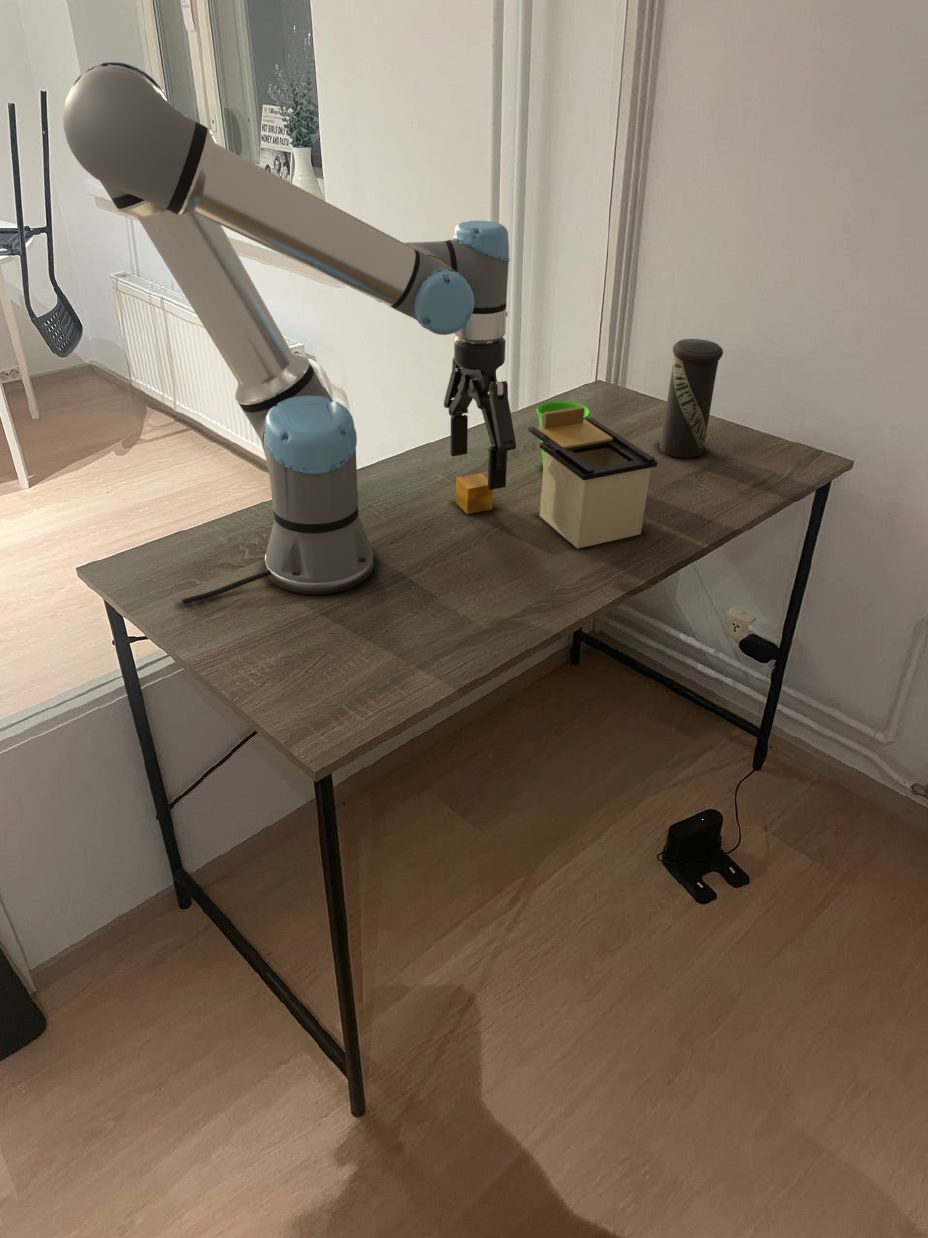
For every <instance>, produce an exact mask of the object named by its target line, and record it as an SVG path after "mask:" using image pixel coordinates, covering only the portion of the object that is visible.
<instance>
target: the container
mask: <svg viewBox="0 0 928 1238" xmlns="http://www.w3.org/2000/svg"><path fill="white" fill-rule="evenodd" d="M672 354H673V360H672V367H671V373H670V374H671V375H670V381H669V387H668V392H667V399H666V404H665V405H666V406H665V411H664V417H663V421H662V422H663V423H662V428H661V435H660V440H659V450H660V451H661V452H662V453H664V454H666V455H668V456H670V457H674V458H680V459H691V458H695V457H698V456H700V455H702V454H703V452H704V449H705V443H706V438H707V433H708V432H707V431H708V424H709V419H710V414H711V413H710V412H711V408H712V402H713V395H714V389H715V382H716V376H717V370H718V365H719V361H720V360H721V358H722V357H723V354H724V350H723V347H721V346H720V345H719V344H718V343H716V342H714V341H711V340H707V339H701V338H685V339H680V340H679V341H677V342H675V343H674V344H673V346H672Z"/></svg>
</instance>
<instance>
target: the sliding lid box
mask: <svg viewBox="0 0 928 1238" xmlns="http://www.w3.org/2000/svg"><path fill="white" fill-rule="evenodd" d="M586 421H588V422H589V423H591V424H592V425H594V426H595V427H597V428H598V429H600V430H601V431H603V432H604V433H606V434H608V435H609V436H611V437H612V438H613V441H608V442H602V443H596V444H590V445H585V446H579V447H573V448H568V449H564V448H563V447H561V446H560V445H559V444H557V443H556V442H555V441H553V440H552V439H550V438H549V437H548V436H546V435H545V434H544V433H542V432H541V431H539V430H538V429H537V428H538V427H535V426H529V427H528V430H527V431H528V432H529V433H530V434H532V435H533V436H534V437H536V438H537V439H539V440H540V441H541V440H542V441H543V442H542V443H541V442H539V449H541V450H542V449H543V450H544V451H545V455H544V467H543V466H542V467H543V469H542V480H541V481H542V482H541V493H540V506H539V517H540V518H541V519H542V520H544V522H546V523H547V524H548V525H549V526H551V527H552V528H553V529H554V530H555V531H556V532H558V533H559V534H560V535H561V536H562V537H563V538H564V539H565V540H567V541H568V542H569V543H570V544H571V545H572V546H573V547H575V548H576V549H582V548H586V547H591V546H595V545H599V544H603V543H608V542H609V543H610V542H613V541H618V540H622V539H626V538H630V537H635V536H639V535H642V529H643V522H644V517H645V509H646V502H647V495H648V491H649V490H648V489H649V483H650V478H651V471H652V470H651V469H652V468H655V467H658V460H656V458H655V457H654V456H652V455H651V454H649V453H647V452H645V451H644V450H643V449H641V448H640V447H638V446H636V445H635V444H633V443H632V442H630V441H629V440H627V439H625V438H624V437H623V436H621V435H619V434H618V433H616V432H615V431H613V430H611V428H609V427H607V426H605V425H604V424H602V423H601V422H600V421H598V420H597V419H595V418H594V417H590V416H588V417H587V418H586Z"/></svg>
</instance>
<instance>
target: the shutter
mask: <svg viewBox="0 0 928 1238" xmlns="http://www.w3.org/2000/svg"><path fill="white" fill-rule="evenodd" d="M583 418H584V408H583V407H582V406H580V407H574V408H568V409H561V410H555V411H549V412H543V423H542V427H540V426H538V427H536V428H537V429H538V430H539V431H541V432H542V433H544V434H545V435H546V436H548V437H549V438H550V439H552V440H553V441H555V442H556V443H557V444H559V445H560V446H561V447H563V448H564V449H568V448H573V447H579V446H585V445H590V444H596V443H602V442H608V441H613V438H612V437H611V436H609V435H608V434H606V433H604V432H603V431H601V430H600V429H598V428H597V427H595V426H594V425H592V424H591V423H589V422H588V421H586V420H583Z"/></svg>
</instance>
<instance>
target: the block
mask: <svg viewBox="0 0 928 1238" xmlns="http://www.w3.org/2000/svg"><path fill="white" fill-rule="evenodd" d="M493 498H494V489H493V490H489V489H488V477H486V476H485V475H484V474H483V473H475V474H470V475H469V474H468V475H464V476H458V477H456V478H455V504H456V505H458V507H459V508H461V509H462V510H463V511H464V512H465V513H466V514H467V515H471V514H476V513H480V512H486V511H491V510H493V502H494V499H493Z"/></svg>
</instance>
